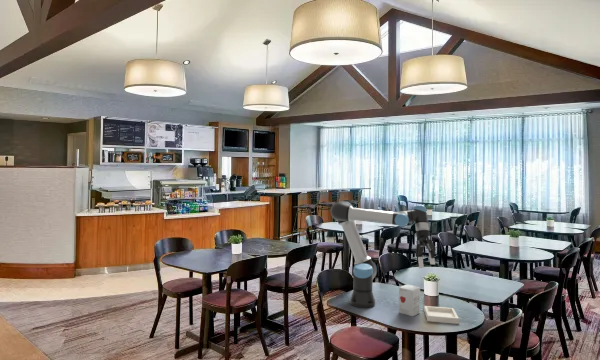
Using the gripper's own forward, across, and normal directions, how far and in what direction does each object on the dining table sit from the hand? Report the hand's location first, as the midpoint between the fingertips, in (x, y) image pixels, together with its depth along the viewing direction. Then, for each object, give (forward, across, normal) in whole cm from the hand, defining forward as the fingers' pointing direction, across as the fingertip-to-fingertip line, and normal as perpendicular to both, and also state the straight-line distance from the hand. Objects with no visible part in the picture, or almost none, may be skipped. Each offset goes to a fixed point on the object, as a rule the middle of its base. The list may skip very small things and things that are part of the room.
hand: (427, 266), depth 230 cm
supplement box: (+26, +9, +10) cm, 29 cm away
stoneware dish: (+28, 0, -4) cm, 29 cm away
